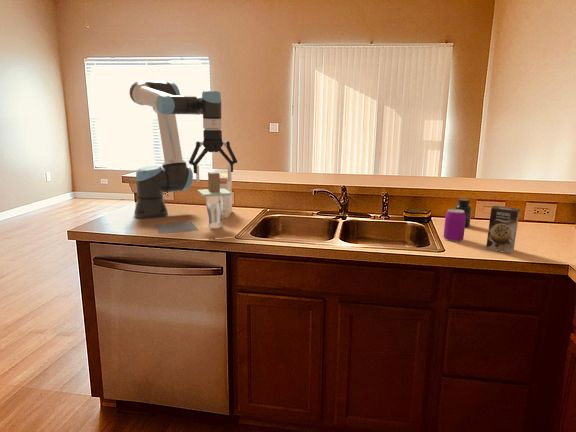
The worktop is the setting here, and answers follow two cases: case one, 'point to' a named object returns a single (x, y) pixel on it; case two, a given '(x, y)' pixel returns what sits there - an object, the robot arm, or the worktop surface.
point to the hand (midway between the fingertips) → (213, 180)
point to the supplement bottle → (465, 209)
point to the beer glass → (214, 211)
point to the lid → (214, 186)
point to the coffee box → (502, 228)
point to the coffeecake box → (226, 199)
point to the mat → (175, 227)
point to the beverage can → (454, 225)
